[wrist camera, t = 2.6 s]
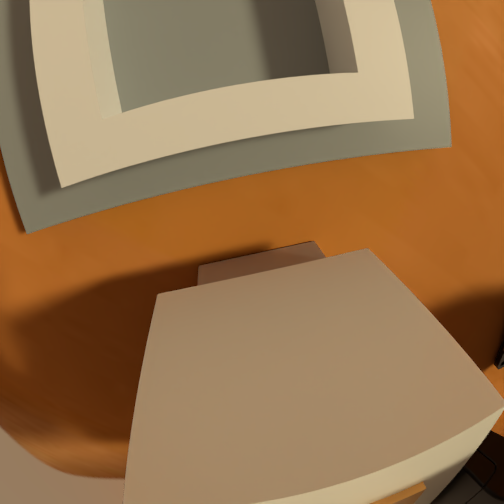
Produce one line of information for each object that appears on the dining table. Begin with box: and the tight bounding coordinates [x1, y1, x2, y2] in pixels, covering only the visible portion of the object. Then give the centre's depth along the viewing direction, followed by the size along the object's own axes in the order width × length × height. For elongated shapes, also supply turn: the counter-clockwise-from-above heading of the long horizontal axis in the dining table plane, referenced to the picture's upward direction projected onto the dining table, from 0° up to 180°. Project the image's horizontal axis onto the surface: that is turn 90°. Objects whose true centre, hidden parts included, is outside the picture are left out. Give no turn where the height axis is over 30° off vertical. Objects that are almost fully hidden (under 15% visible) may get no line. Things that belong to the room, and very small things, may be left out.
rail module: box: [123, 241, 504, 504], centre depth 7 cm, size 5×8×7 cm, turn 10°
